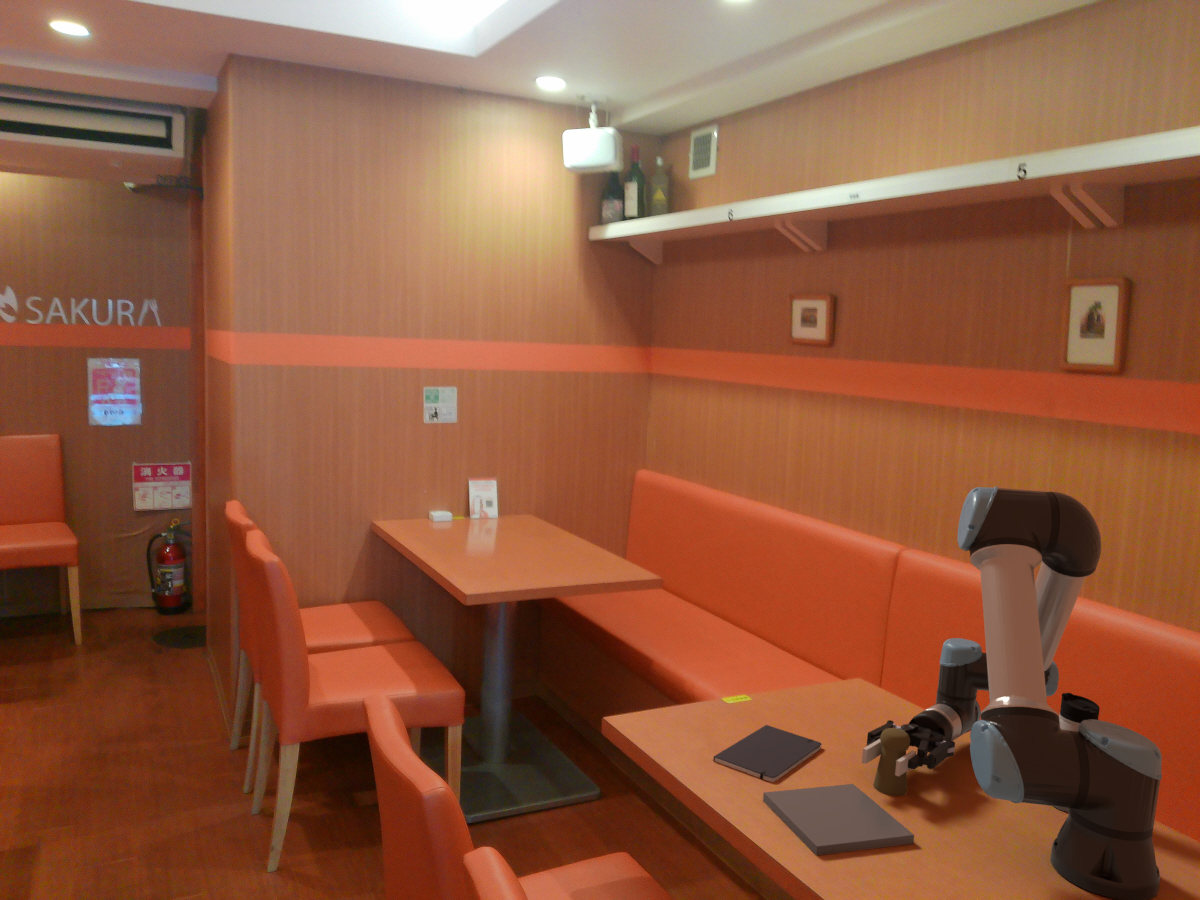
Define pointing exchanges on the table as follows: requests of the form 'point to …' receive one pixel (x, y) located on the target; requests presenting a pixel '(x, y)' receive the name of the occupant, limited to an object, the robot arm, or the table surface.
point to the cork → (892, 762)
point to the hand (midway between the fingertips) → (880, 762)
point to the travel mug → (1075, 715)
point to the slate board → (837, 819)
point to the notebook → (768, 753)
